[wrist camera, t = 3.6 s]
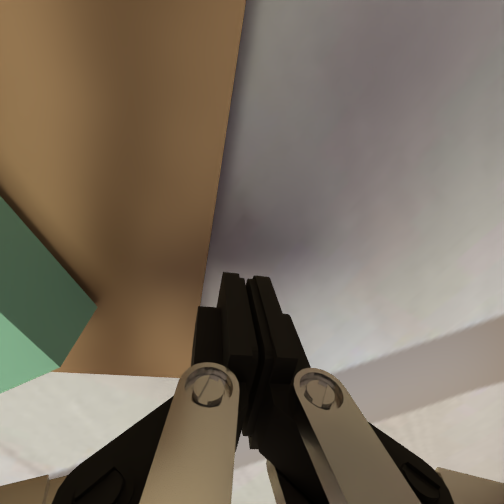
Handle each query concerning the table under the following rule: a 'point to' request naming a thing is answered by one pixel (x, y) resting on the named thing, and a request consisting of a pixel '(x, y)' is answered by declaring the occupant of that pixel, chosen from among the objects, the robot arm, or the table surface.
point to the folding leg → (34, 305)
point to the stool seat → (120, 160)
